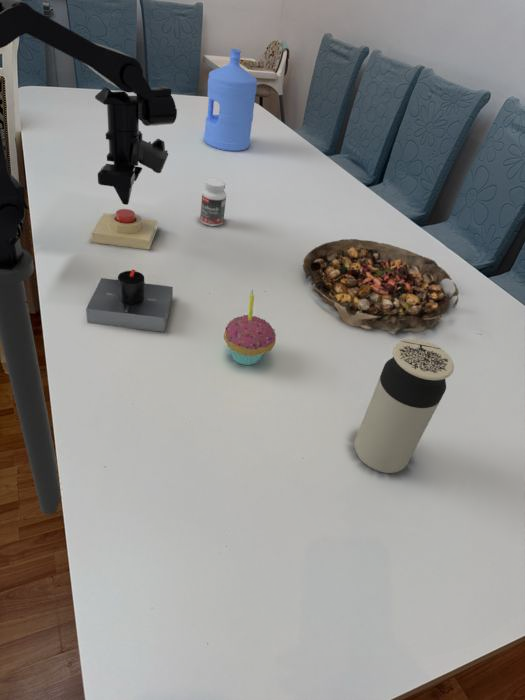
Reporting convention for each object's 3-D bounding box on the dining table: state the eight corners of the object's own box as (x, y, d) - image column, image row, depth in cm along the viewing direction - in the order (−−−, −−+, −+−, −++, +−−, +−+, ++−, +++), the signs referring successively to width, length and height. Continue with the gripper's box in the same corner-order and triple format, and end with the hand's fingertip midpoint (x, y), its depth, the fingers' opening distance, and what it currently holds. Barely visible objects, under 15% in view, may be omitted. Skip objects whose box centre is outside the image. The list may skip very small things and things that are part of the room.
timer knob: (142, 305, 86) (141, 284, 83) (116, 302, 85) (115, 281, 83) (146, 291, 89) (146, 270, 86) (121, 288, 89) (120, 267, 86)
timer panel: (87, 323, 85) (85, 308, 83) (102, 291, 92) (101, 277, 90) (164, 332, 86) (164, 317, 84) (172, 300, 93) (172, 285, 92)
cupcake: (215, 343, 85) (222, 284, 78) (261, 338, 88) (271, 280, 81) (230, 376, 79) (239, 315, 72) (279, 369, 82) (292, 310, 75)
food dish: (406, 364, 90) (419, 330, 85) (268, 286, 105) (273, 254, 100) (479, 294, 112) (493, 264, 107) (356, 238, 127) (363, 210, 122)
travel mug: (406, 481, 68) (457, 387, 57) (350, 464, 69) (389, 367, 58) (408, 440, 74) (455, 347, 63) (357, 424, 75) (393, 330, 64)
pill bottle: (196, 223, 120) (199, 183, 114) (204, 214, 124) (207, 175, 118) (219, 228, 119) (223, 188, 113) (226, 219, 124) (230, 180, 118)
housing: (92, 242, 106) (91, 224, 103) (104, 222, 113) (103, 205, 111) (149, 249, 107) (149, 232, 104) (157, 229, 115) (157, 212, 112)
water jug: (251, 141, 176) (263, 51, 159) (246, 155, 164) (257, 58, 146) (208, 133, 176) (215, 42, 159) (199, 146, 164) (205, 49, 146)
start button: (114, 223, 106) (113, 215, 105) (118, 215, 109) (118, 207, 108) (133, 225, 106) (132, 218, 105) (136, 217, 110) (136, 210, 109)
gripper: (157, 148, 89) (156, 228, 99) (172, 120, 104) (170, 192, 114) (94, 139, 88) (99, 220, 98) (118, 112, 103) (120, 185, 113)
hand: (125, 203), depth 106 cm, fingers closed
